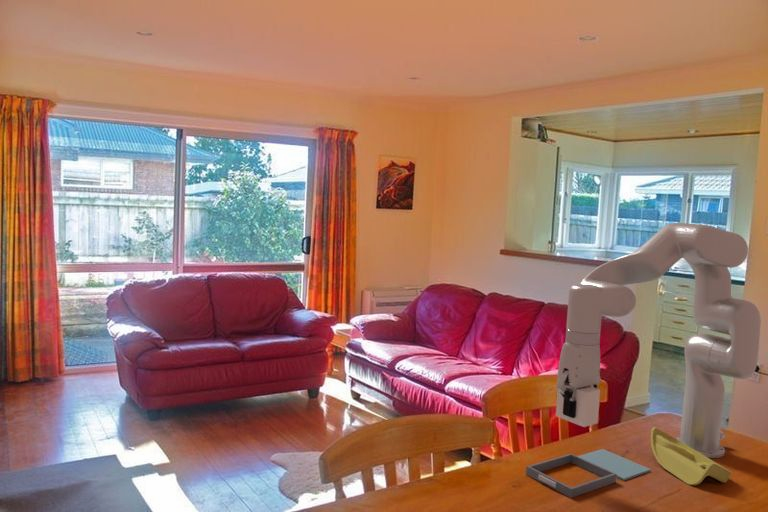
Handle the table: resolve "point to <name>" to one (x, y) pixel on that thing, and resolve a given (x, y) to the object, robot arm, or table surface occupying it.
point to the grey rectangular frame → (535, 473)
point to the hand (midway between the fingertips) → (577, 413)
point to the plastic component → (684, 460)
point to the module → (582, 406)
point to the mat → (615, 464)
